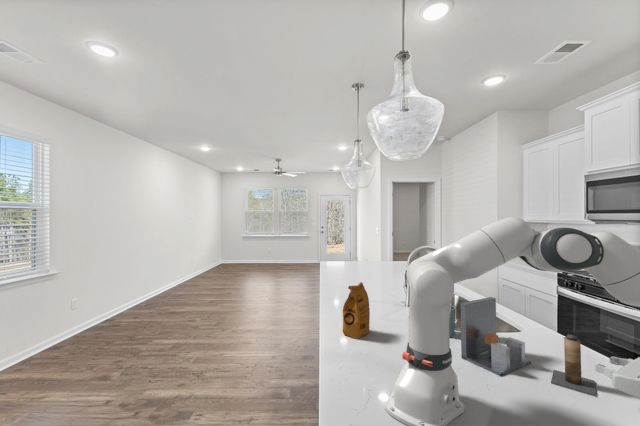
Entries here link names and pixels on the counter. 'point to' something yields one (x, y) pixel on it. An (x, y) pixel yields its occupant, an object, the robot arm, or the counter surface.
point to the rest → (585, 387)
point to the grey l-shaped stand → (474, 326)
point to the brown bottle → (572, 359)
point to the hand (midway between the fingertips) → (603, 363)
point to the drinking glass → (452, 322)
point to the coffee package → (356, 312)
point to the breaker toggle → (490, 340)
